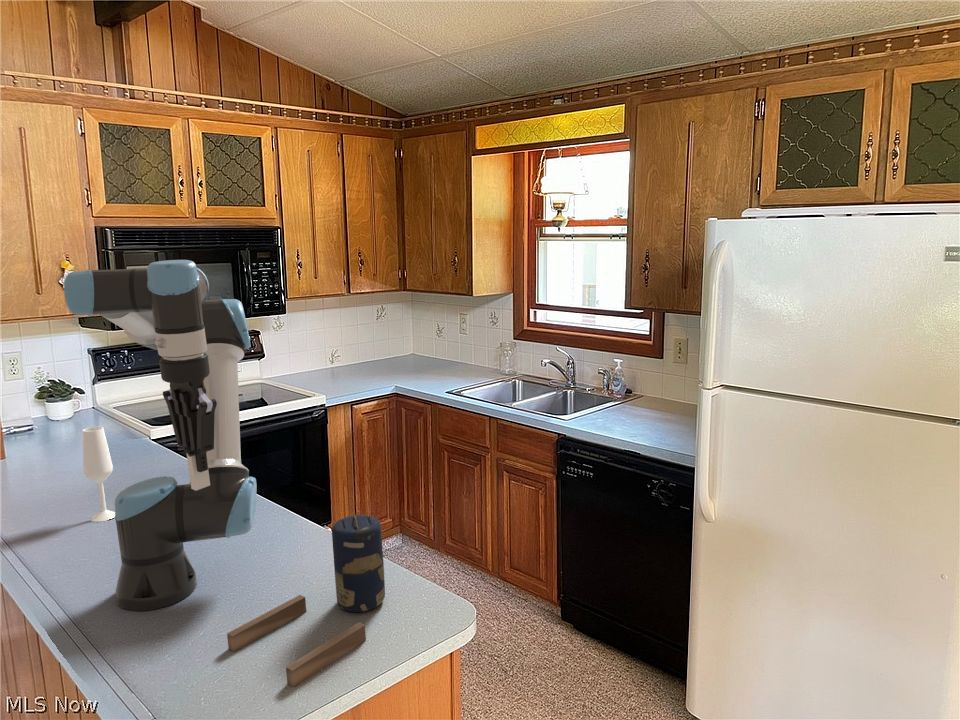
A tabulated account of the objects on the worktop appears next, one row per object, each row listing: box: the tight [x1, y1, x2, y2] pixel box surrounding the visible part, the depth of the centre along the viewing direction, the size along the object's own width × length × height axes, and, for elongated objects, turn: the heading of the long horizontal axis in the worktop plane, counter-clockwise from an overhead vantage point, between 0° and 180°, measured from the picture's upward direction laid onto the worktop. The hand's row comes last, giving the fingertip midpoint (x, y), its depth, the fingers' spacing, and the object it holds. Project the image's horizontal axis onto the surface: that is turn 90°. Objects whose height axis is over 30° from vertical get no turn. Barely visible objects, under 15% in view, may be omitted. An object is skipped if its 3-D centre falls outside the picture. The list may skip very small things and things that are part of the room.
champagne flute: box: [82, 425, 115, 522], centre depth 181 cm, size 7×7×24 cm
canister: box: [331, 514, 386, 613], centre depth 137 cm, size 10×10×18 cm
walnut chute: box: [226, 594, 367, 688], centre depth 125 cm, size 18×16×3 cm
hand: (200, 486), depth 122 cm, fingers closed
